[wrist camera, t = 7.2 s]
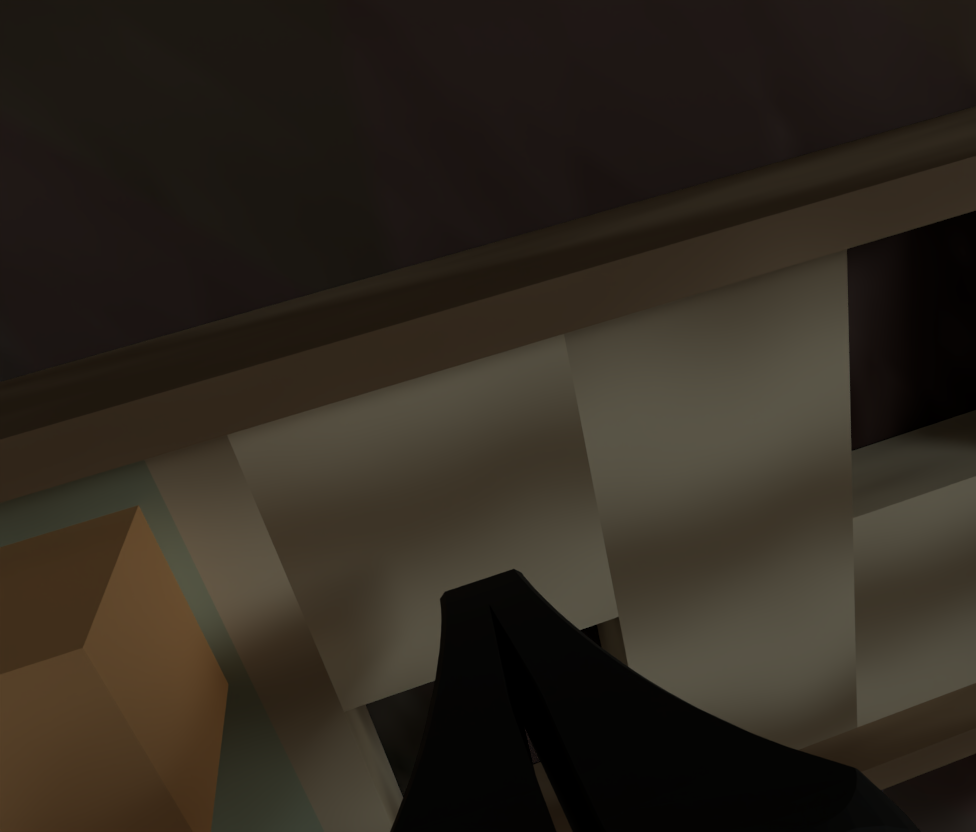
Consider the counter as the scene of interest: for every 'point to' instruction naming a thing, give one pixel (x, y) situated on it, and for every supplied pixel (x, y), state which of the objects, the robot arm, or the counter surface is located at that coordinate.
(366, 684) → the trap box
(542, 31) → the counter surface
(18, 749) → the block
